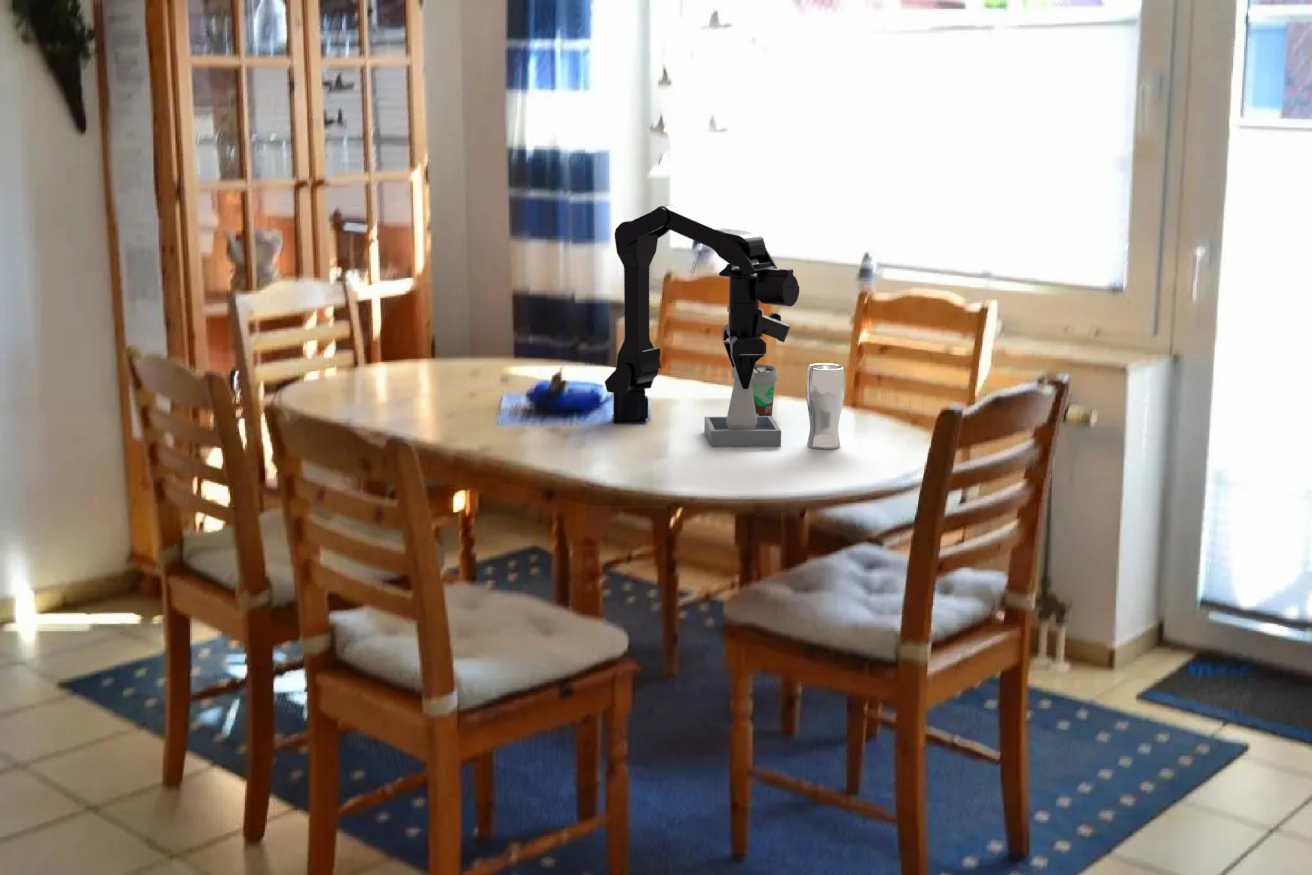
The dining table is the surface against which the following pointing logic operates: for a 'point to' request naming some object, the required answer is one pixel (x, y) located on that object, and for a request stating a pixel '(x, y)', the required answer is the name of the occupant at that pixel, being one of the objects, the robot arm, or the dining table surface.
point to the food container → (764, 388)
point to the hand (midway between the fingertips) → (742, 384)
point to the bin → (742, 433)
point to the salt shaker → (741, 406)
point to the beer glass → (824, 404)
